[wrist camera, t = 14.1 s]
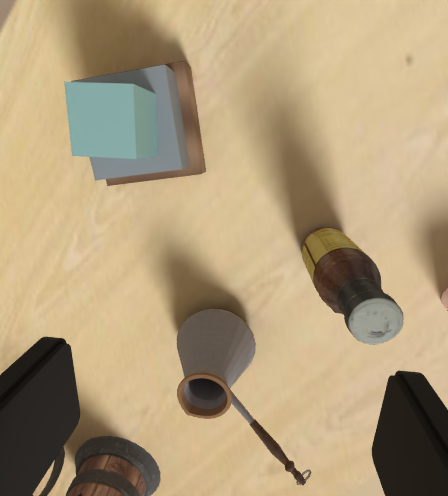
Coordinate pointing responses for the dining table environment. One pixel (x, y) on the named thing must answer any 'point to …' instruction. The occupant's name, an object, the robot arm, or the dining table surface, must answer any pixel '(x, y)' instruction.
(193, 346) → the coffee pot
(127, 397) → the dining table surface
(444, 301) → the smoothie
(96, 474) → the tankard
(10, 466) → the robot arm
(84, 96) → the teal cube
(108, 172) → the top block
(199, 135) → the bottom block
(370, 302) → the sauce bottle
